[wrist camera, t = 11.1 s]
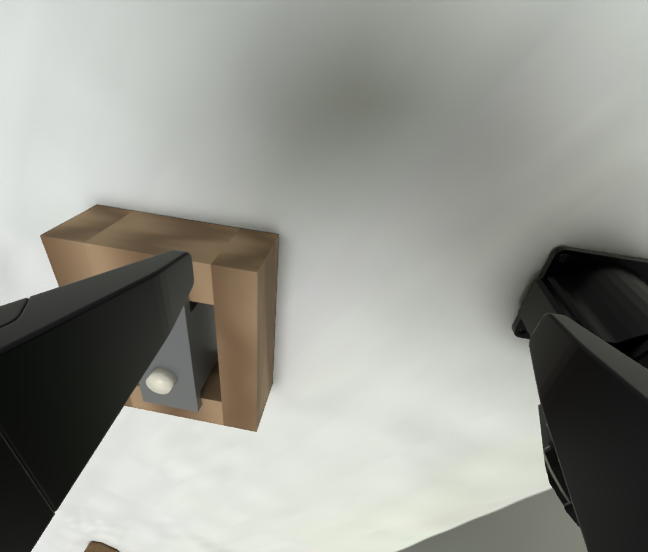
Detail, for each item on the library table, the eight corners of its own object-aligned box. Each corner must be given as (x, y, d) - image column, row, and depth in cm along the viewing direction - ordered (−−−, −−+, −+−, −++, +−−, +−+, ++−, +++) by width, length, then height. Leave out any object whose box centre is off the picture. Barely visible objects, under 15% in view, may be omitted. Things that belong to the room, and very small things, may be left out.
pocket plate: (278, 234, 22) (257, 272, 18) (272, 383, 30) (256, 431, 26) (96, 204, 23) (40, 235, 19) (136, 357, 31) (101, 401, 27)
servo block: (217, 255, 23) (176, 307, 19) (224, 361, 29) (193, 422, 24) (159, 245, 23) (103, 293, 19) (176, 352, 29) (136, 411, 24)
